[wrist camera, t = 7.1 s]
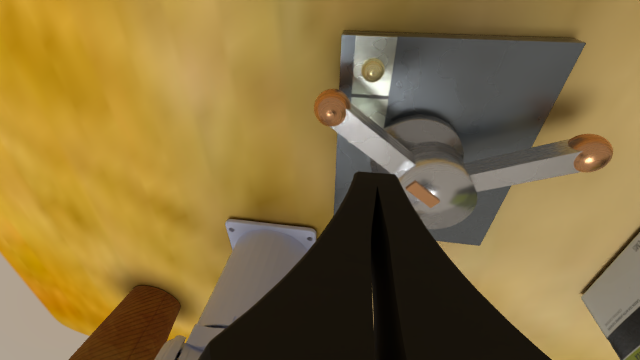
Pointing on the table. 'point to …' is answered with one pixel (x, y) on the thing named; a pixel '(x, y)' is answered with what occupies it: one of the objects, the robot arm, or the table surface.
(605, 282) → the tea box
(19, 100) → the table surface
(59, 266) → the table surface
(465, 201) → the capstan
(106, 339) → the disposable coffee cup
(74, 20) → the table surface
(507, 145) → the stand plate
